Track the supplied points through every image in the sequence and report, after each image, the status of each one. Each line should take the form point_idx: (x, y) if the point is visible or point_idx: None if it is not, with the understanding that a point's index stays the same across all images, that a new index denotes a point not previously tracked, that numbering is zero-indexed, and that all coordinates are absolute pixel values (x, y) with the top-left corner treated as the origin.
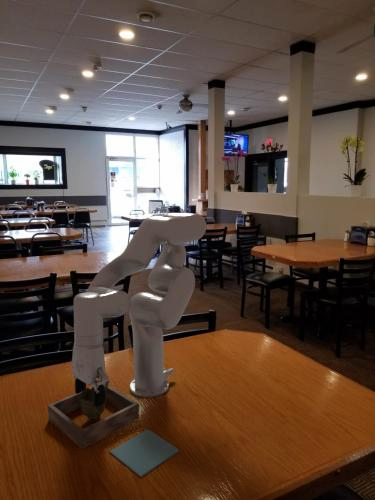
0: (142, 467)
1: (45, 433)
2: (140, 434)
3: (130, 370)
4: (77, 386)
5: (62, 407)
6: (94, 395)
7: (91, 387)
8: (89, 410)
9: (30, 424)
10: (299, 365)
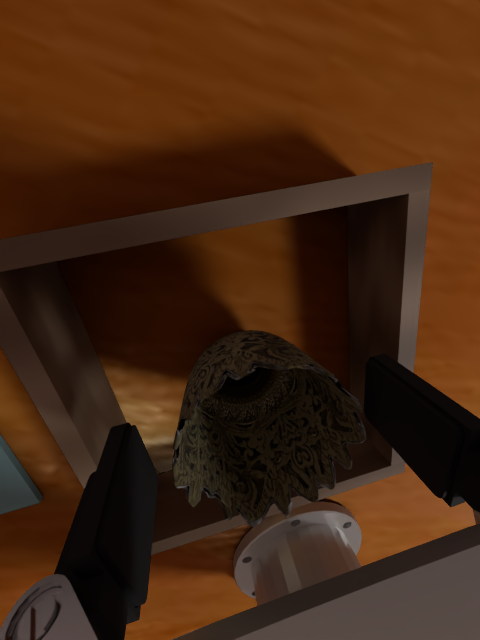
0: None
1: (269, 121)
2: (13, 476)
3: (422, 519)
4: (408, 398)
5: (375, 256)
6: (91, 517)
7: None
8: (198, 368)
9: (395, 78)
10: None
